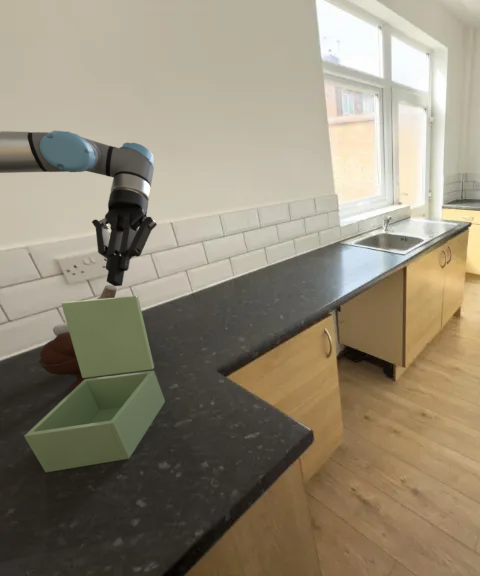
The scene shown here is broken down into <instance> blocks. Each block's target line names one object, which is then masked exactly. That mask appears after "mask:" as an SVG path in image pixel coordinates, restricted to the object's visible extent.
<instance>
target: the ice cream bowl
mask: <svg viewBox="0 0 480 576" xmlns="http://www.w3.org/2000/svg"><path fill="white" fill-rule="evenodd" d="M39 358H40V359H38V361H37V362H38V364H39V365H41V367H42V368H43V369H44V370H45V371H46V372H48V373H49V374H52V375H57V376H69V375H74V376H75V378H76V380H75V381H74V382H72V384H71V385H70V386H69V389H70V390H71V392H72V391H73V390H74V389H75V388H76V387H77V386H78V385H79V384H80V383H81V382H82V381H83V380H85V379H91V378H98V376H95V377H87V378H82V375H81V371H80V368H79V364H78V361H77V357H76V354H75V350H74V347H73V343H72V340H71V336H70V332H65V333H61V334H59V335H57V336H56V335H55V337H54V339H52V340H50V341H48V342H46V344H44V346H42V348H41V349H40V352H39Z"/></svg>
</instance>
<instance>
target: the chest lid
mask: <svg viewBox="0 0 480 576" xmlns="http://www.w3.org/2000/svg"><path fill="white" fill-rule="evenodd" d="M61 307H62V311H63V315H64V318H65V323H66V322H67V325H68V329H69V332H70V336H71V340H72V343H73V347H74V350H75V354H76V357H77V361H78V364H79V368H80V371H81V375H82V378H87V377H95V376H96V377H104V376H112V375H120V374H128V373H136V372H144V371H152V370H154V369H155V364H154V360H153V355H152V351H151V347H150V342H149V338H148V334H147V329H146V326H145V321H144V316H143V311H142V308H141V303H140V299H139V295H130V296H120V297H115V298H106V299H97V298H96V299H95V298H94V299H87V300H75V301H74V300H73V301H64V302H61Z"/></svg>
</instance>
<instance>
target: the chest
mask: <svg viewBox="0 0 480 576" xmlns="http://www.w3.org/2000/svg"><path fill="white" fill-rule="evenodd" d="M165 403H166V400H165V397H164V394H163V392H162V389H161V386H160V383H159V381H158V377H157V374H156V371H155V370H145V371H137V372H130V373H122V374H114V375H106V376H98V377H97V378H91V379H85V380H83V381H82V382H81V383H80V384H79V385H78V386H77V387H76V388H75V389H74V390H73V391H72V390H71V391H70V393H68V395H67V394H66V395H65V397H64V398H63V399H62V400H60V402H58V404H57V405H55V407H53V408H52V409H51V410H50V411H49V412H48V413H47V414H46V415H44V417H43V418H41V420H39V421H38V422H37V423H36V424H35V425H34V426H33V427H32V428H31V429H30V430H29V431H28V432H27V433H25V434H24V436H23V437H24V439H25V441H26V442H27V444H28V445H29V447H30V449H31V451H32V452H33V454H34V455H35V457H36V459H37V461H38V463H39V464H40V466H41V467H42V469H43V470H44V472H45V473H52V472H56V471H63V470H68V469H76V468H80V467H87V466H92V465H98V464H99V465H100V464H104V463H111V462H116V461H117V462H118V461H123V460H129V459H130V458H131V457H132V455H133V453H134V452H135V450H136V449H137V447H138V446H139V444H140V442H141V441H142V440H143V438H144V436H145V435H146V433H147V431H148V430H149V428H150V427H151V426H152V423H153V422H154V420H155V419H156V418H157V416H158V414H159V412H160V411H161V409H162V408H163V406H164V404H165Z"/></svg>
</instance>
